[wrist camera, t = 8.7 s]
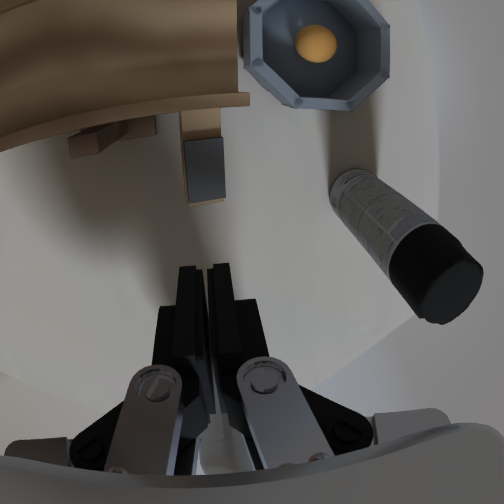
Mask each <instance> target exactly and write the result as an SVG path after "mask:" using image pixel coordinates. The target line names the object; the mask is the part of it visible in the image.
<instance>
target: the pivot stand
mask: <svg viewBox="0 0 504 504" xmlns="http://www.w3.org/2000/svg"><path fill="white" fill-rule="evenodd" d="M156 134H157V131H156V119H155V115H150V116H144V117H138V118H132V119H126V120H120V121H115V122H110V123H105V124H100V125H95V126H91V127H86V128H82V129H81V132H80V133H77V134H75V135H73V136H71V137H69V138H68V144H69V150H70V157H71V158H76V157H81V156H86V155H92V154H98V153H100V152H101V151H103V150H104V149H105V148H107V147H108V146H109V145H111V144H112V143H114V142H115V141H120V140H126V139H133V138H140V137H148V136H155V135H156Z"/></svg>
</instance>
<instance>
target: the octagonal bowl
mask: <svg viewBox="0 0 504 504" xmlns="http://www.w3.org/2000/svg"><path fill="white" fill-rule="evenodd" d="M308 25H320V26H323V27H326V28H327V29H329V30H330V31H331V32H332V33H333V35H334V36H335V38H336V42H337V48H336V52H335V54H334V55H333V56H332V57H331V58H330V59H329V60H327V61H324V62H320V63H314V62H310V61H307V60H305V59H304V58H302V57H301V56H300V55H299V53H298V52H297V50H296V48H295V37H296V35H297V33H298V32H299V31H300V30H301V29H302V28H303V27H305V26H308ZM242 47H243V54H244V67H243V68H244V69H245V70H246V71H248V72H249V73H250V74H251V75H252V76H253V77H254V78H255V79H256V80H257V82H258V83H259V84H260V85H261V86H262V87H264V88H265V89H266V90H267V91H269V92H270V93H271V94H272V95H273V96H274V97H275V98H276V99H277V100H278V101H280V102H281V104H282V105H285V106H288V107H291V108H294V109H297V108H303V109H326V110H342V111H350V112H352V111H353V110H354V109H355V108H356V107H358V106H359V105H360V104H361V103H362V102H363V101H364V100H365V99H366V98H367V97H368V96H369V95H370V94H372V93H373V92H374V91H375V90H376V89H377V88H378V87H379V86H380V85H381V84H382V83H384V82H385V81H386V80H387V79H388V78H389V77H390V76H389V72H390V25H389V24H388V23H387V22H386V21H385V19H384V18H383V17H382V16H381V15H380V13H379V12H378V11H377V10H376V9H375V8H374V6H373V5H372V4H371V3H370V2H369V1H368V0H258V1H257V2H256V3H254V4H253V5H252V6H250V7H249V8H248V10H247V12H246V13H245V15H244V17H243V40H242Z"/></svg>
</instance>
